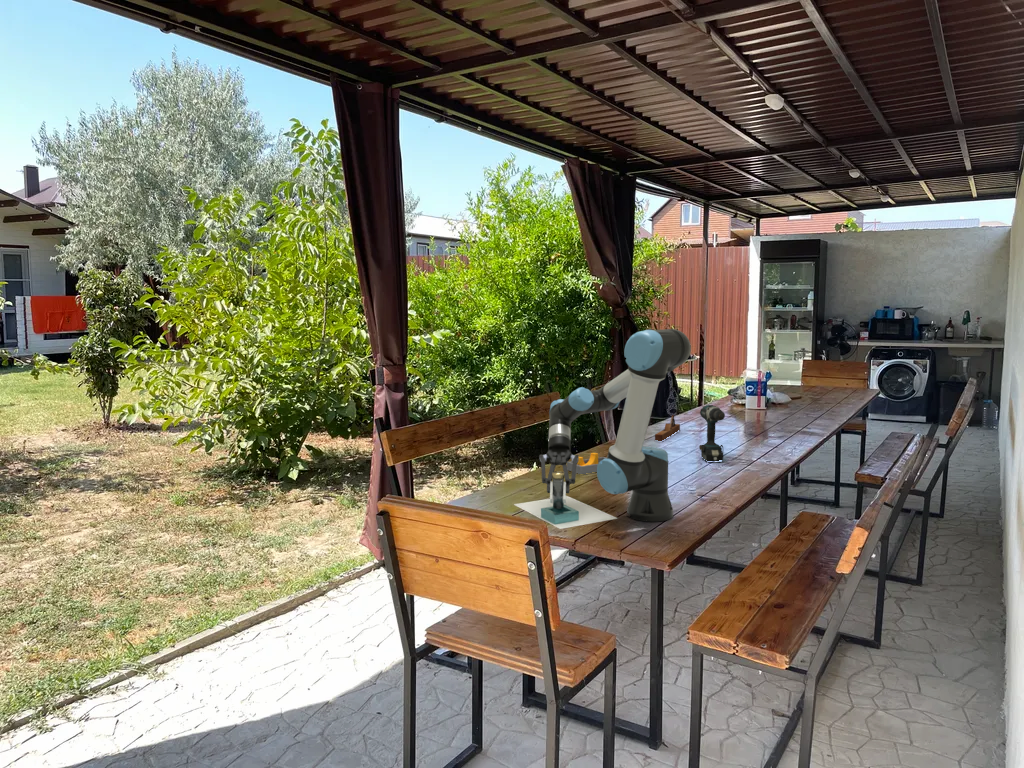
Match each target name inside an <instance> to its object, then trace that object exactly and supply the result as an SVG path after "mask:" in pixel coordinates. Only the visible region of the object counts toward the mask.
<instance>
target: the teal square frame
mask: <svg viewBox="0 0 1024 768" xmlns="http://www.w3.org/2000/svg"><path fill="white" fill-rule="evenodd" d="M541 517H542V518H544V519H545V520H547V521H549V522H551V523H553V524H560V523H566V522H571V521H577V520H579V511H577V510H575V509H573V508H571V507H569V506H566V505H564V508H560V509H557V508H553V507H547V508H541Z"/></svg>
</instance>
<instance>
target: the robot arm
mask: <svg viewBox="0 0 1024 768" xmlns="http://www.w3.org/2000/svg"><path fill="white" fill-rule="evenodd" d="M691 345H692V344H691V341H690V339H689V338H688V336H687V335H686V334H685V333H684V332H682V331H681V330H678V329H675V328H667V329H645V330H641V331H637V332H635V333H633V334H632V335H630V336H629V339H628V340H627V341H626V343H625V345H624V350H623V351H624V354H623V355H624V358H626V359H625V363H626V364H627V366H628V368H627V369H626V370H624V371H623V372H621V373H620V374H619V375H617V376H615V378H613V379H612V380H610V381H609V382H607V383H606V384H605V385H603V386H602V387H601V388H599V389H595V390H590V389H588V388H585V387H582V386H581V387H578V388H576V389H575V390H573V391H572V392H571V393H570V394H569V395H568V396H567V397H566V398H564V399H562V398H559V399H558V398H557V400H553V401H552V402H551V403H550V407H549V412H548V415H549V420H548V423H549V424H548V428H549V429H548V444H547V445H548V446H547V447H548V448H547V449H548V450H547V452H546V454H543V453H542V454H539V462H540V463H541V466H540V468H541V483H542V484H546V493H547V494H549V499H550V503H553V478H552V472H555V469H556V467H557V466H562V470H563V471H562V472H564V480H565V481H564V485H563V503H566V496H567V494H570V485H572V484H573V485H574V484H575V483H576V477H577V473H576V465H577V463H578V461H579V457H580V456H579V455H578V454H576V455H575V454H573V453H572V451H571V435H572V434H571V433H572V432H571V431H572V428H571V427H572V422H573V421H575V420H576V419H578V418H579V417H580V416H581V415H585V414H590V413H596V412H597V413H598V412H604V411H605V412H607V411H612V410H615V409H616V408H618V407H619V404H620V403H621V401H622V400H624V399H625V401H624V405H623V410H622V414H621V418H620V423H619V427H618V430H617V435H616V439H615V443H614V444H613V445H610V446H609V448H608V452H607V455H606V458H607V459H603V460H602V461H600V462H599V464H598V466H597V473H596V477H597V479H598V482H599V484H600V486H601V487H602V489H603V490H605V491H606V492H607V493H608V494H611V495H621V494H622V495H623V494H625V493H628V492H631V491H632V493H631V495H630V499H629V502H628V506H627V508H626V509H627V512H626V513H627V514H628V515H627V517H629V518H630V519H633V520H635V521H640V522H651V523H652V522H653V523H654V522H664V521H668V520H671V519H672V518H673V517H674V510H673V505H672V502H671V499H670V496H669V463H670V462H669V456H668V455H669V453H668V452H667V450H665V449H663V448H659V447H653V446H644V443H645V439H646V435H647V431H648V428H649V424H650V420H651V416H652V411H653V407H654V404H655V400H656V397H657V391H658V388H659V384H660V382H661V381H663V380H665V379H666V377H667V373H670V372H672V371H673V370H676V369H677V368H678V367H680V366H682V365H683V364H685V362H687V360H688V358H689V357H690V354H691V351H692V350H691V348H692V346H691ZM547 459H548V460H549V461H550V467H549V471H548V474H547V476H546V462H547ZM570 460H571V461H572V462H573V465H572V472H571V477H570V476H569V470H567V462H570Z"/></svg>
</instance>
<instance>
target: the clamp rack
mask: <svg viewBox="0 0 1024 768" xmlns="http://www.w3.org/2000/svg"><path fill="white" fill-rule="evenodd" d="M589 459H590V458H586V459H583V460H584V463H585V464H586V463H587V462H588V461H589ZM603 459H607V456H606V457H605V456H601V457H599V456H598V464H599V462H600V461H602V460H603ZM598 464H593V465H586V466H580V465H576V474H577V473H578V474H577V475H579V474H585V475H587V474H586V473H592V472H597V466H598ZM566 465H567V470H568V472H571V471H572V465H573V462H572V460H571V461H570V460H569V461H568V462H567V463H566ZM592 474H593V473H592Z"/></svg>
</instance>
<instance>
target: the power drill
mask: <svg viewBox="0 0 1024 768" xmlns="http://www.w3.org/2000/svg"><path fill="white" fill-rule="evenodd" d="M699 414H700V416H701V417H702V419H704V420H705V422H706V425H707V427H706V443H703V444H699V450H700V454H701V458H702V457H703V458H704V459H705V460H707V461H719V460H723V461H724V450H723V449H724V445H723V444H720V445H719V444H717V443H716V442H715V440H716V439H715V438H716V424H717V423H719V421H723V420H724V419H725V417H726V414H725V412H724V411H722V409H720V407H718V406H716V405H713V404H707V405H705V406H703V407H702V408H701V409H700V411H699Z"/></svg>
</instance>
